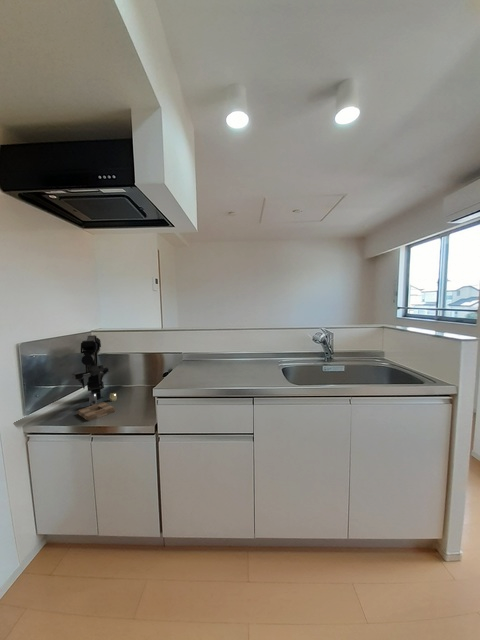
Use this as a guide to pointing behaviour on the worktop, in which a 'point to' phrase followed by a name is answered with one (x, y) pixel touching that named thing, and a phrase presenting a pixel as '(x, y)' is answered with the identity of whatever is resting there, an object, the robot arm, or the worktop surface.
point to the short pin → (113, 397)
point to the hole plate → (96, 411)
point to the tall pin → (92, 399)
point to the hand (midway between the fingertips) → (92, 386)
